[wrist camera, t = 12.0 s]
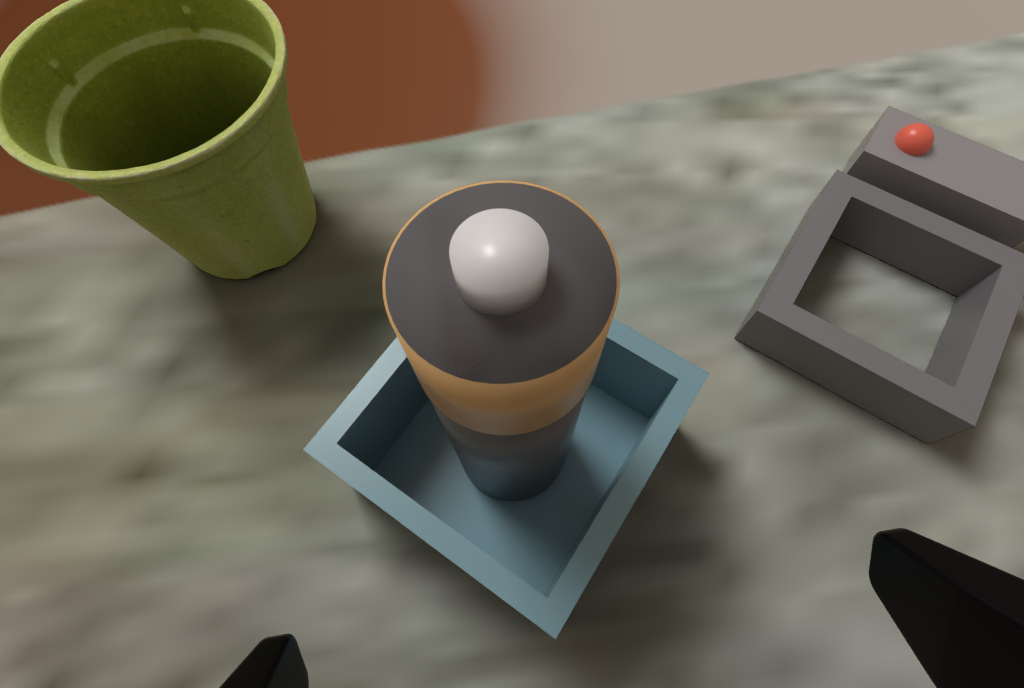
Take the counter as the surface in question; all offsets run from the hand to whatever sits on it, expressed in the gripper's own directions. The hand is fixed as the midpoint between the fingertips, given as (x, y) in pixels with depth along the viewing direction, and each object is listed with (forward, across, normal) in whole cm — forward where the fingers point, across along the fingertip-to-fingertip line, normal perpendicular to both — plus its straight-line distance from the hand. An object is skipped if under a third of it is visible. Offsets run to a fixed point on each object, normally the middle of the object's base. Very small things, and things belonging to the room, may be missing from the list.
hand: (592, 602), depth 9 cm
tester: (+16, -16, +1) cm, 23 cm away
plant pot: (+21, +11, -4) cm, 24 cm away
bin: (+12, +1, +5) cm, 13 cm away
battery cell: (+12, +1, +4) cm, 13 cm away
